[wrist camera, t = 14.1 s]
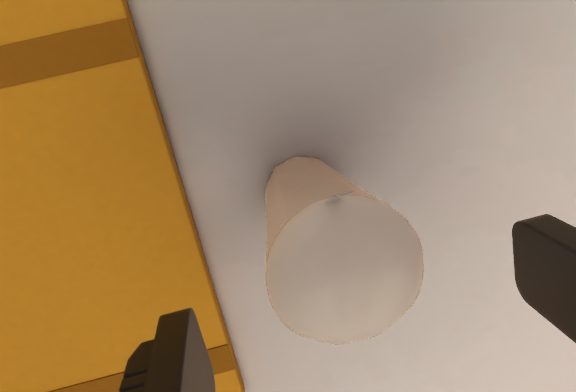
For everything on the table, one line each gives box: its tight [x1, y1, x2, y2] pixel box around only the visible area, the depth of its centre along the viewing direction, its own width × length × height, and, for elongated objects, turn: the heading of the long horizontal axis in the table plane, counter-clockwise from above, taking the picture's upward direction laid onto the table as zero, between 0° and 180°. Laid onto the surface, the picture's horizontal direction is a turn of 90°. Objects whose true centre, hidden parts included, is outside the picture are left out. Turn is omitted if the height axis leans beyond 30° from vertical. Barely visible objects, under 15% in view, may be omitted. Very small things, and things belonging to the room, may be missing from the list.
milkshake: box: [265, 156, 423, 345], centre depth 16 cm, size 4×5×10 cm
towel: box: [0, 0, 245, 392], centre depth 20 cm, size 12×20×1 cm, turn 12°
